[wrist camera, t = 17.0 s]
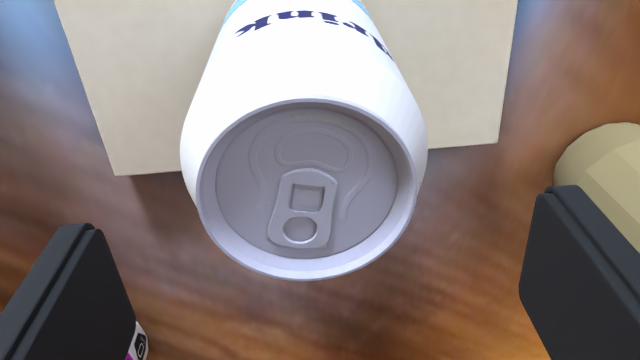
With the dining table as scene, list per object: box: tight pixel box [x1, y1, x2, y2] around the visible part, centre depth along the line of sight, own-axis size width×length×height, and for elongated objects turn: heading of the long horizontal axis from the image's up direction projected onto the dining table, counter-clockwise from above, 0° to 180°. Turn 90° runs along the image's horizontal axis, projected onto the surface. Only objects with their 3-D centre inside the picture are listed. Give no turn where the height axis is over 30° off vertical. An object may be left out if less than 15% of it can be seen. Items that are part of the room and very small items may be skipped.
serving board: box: [53, 0, 518, 177], centre depth 23 cm, size 20×12×2 cm, turn 94°
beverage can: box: [180, 0, 428, 281], centre depth 17 cm, size 7×7×12 cm
